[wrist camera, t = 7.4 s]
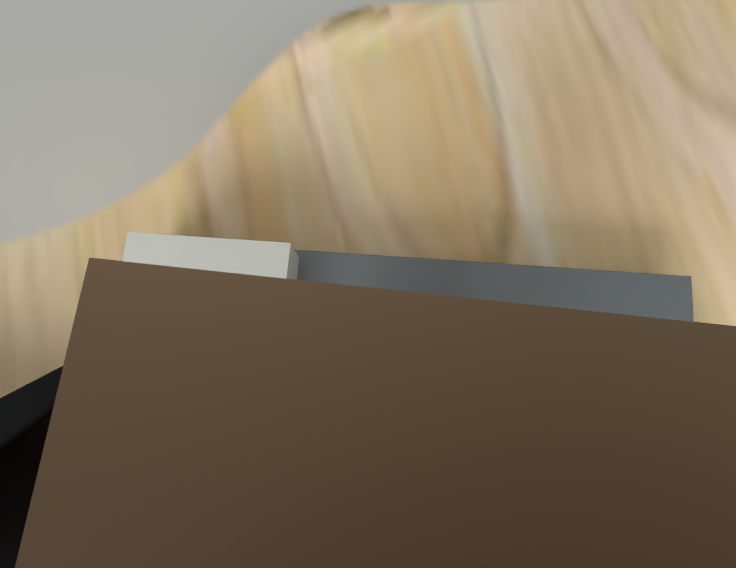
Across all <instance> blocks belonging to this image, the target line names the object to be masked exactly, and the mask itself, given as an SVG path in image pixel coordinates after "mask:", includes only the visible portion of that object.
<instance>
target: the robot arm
mask: <svg viewBox="0 0 736 568" xmlns="http://www.w3.org/2000/svg"><path fill="white" fill-rule="evenodd" d="M62 369H63V366H62V367H60V368H58V369H56V370H54V371H52V372H50V373H48V374H46V375H44V376H42V377H40V378H39V379H37V380H35V381H33V382H31V383H29V384H27V385H25V386H23V387H21V388H19V389H17V390H15V391H13V392H11V393H10V394H8V395H6V396H4V397H2V398H0V568H15V565H16V561H17V557H18V552H19V548H20V544H21V540H22V536H23V532H24V527H25V523H26V519H27V515H28V511H29V507H30V503H31V498H32V494H33V490H34V486H35V482H36V478H37V473H38V469H39V465H40V461H41V457H42V453H43V448H44V444H45V440H46V436H47V432H48V428H49V424H50V419H51V415H52V411H53V407H54V403H55V399H56V394H57V390H58V386H59V382H60V378H61V374H62Z"/></svg>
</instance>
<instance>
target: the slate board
mask: <svg viewBox="0 0 736 568" xmlns="http://www.w3.org/2000/svg"><path fill="white" fill-rule="evenodd" d="M295 252H296V253H297V255H298V257H299V265H298V274H297V280H304V281H313V282H323V283H332V284H342V285H351V286H360V287H370V288H379V289H389V290H398V291H407V292H417V293H426V294H436V295H445V296H455V297H464V298H473V299H483V300H492V301H502V302H511V303H521V304H530V305H539V306H549V307H558V308H568V309H577V310H587V311H596V312H605V313H615V314H624V315H634V316H643V317H653V318H662V319H671V320H681V321H690V322H693V304H692V285H691V276H676V275H661V274H646V273H631V272H616V271H601V270H587V269H572V268H557V267H542V266H527V265H512V264H497V263H482V262H468V261H453V260H438V259H423V258H408V257H393V256H378V255H363V254H349V253H334V252H319V251H304V250H295Z"/></svg>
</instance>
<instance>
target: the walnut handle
mask: <svg viewBox="0 0 736 568" xmlns="http://www.w3.org/2000/svg"><path fill="white" fill-rule="evenodd" d="M15 568H736V326H728V325H719V324H709V323H700V322H690V321H681V320H671V319H662V318H653V317H643V316H634V315H624V314H615V313H605V312H596V311H587V310H577V309H568V308H558V307H549V306H539V305H530V304H521V303H511V302H502V301H492V300H483V299H473V298H464V297H455V296H445V295H436V294H426V293H417V292H407V291H398V290H389V289H379V288H370V287H360V286H351V285H342V284H332V283H323V282H313V281H304V280H294V279H285V278H276V277H266V276H257V275H247V274H238V273H228V272H219V271H210V270H200V269H191V268H181V267H172V266H162V265H153V264H144V263H134V262H125V261H115V260H106V259H96V258H89V261H88V266H87V270H86V274H85V278H84V282H83V286H82V290H81V295H80V299H79V303H78V307H77V311H76V315H75V320H74V324H73V328H72V332H71V336H70V340H69V345H68V349H67V353H66V357H65V361H64V365H63V369H62V374H61V378H60V382H59V386H58V390H57V394H56V399H55V403H54V407H53V411H52V415H51V419H50V424H49V428H48V432H47V436H46V440H45V444H44V448H43V453H42V457H41V461H40V465H39V469H38V473H37V478H36V482H35V486H34V490H33V494H32V498H31V503H30V507H29V511H28V515H27V519H26V523H25V527H24V532H23V536H22V540H21V544H20V548H19V552H18V557H17V561H16V565H15Z"/></svg>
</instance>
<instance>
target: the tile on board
mask: <svg viewBox="0 0 736 568" xmlns="http://www.w3.org/2000/svg"><path fill="white" fill-rule="evenodd" d="M122 261H125V262H134V263H144V264H153V265H162V266H172V267H181V268H191V269H200V270H210V271H219V272H228V273H238V274H247V275H257V276H266V277H276V278H285V279H294V280H297V274H298V265H299V257H298V255H297V253H296V252H295V250H294V248H293V246H292V244H291V243H286V242H271V241H256V240H240V239H225V238H210V237H195V236H180V235H165V234H150V233H135V232H128V233H127V238H126V244H125V249H124V254H123V260H122Z"/></svg>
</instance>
